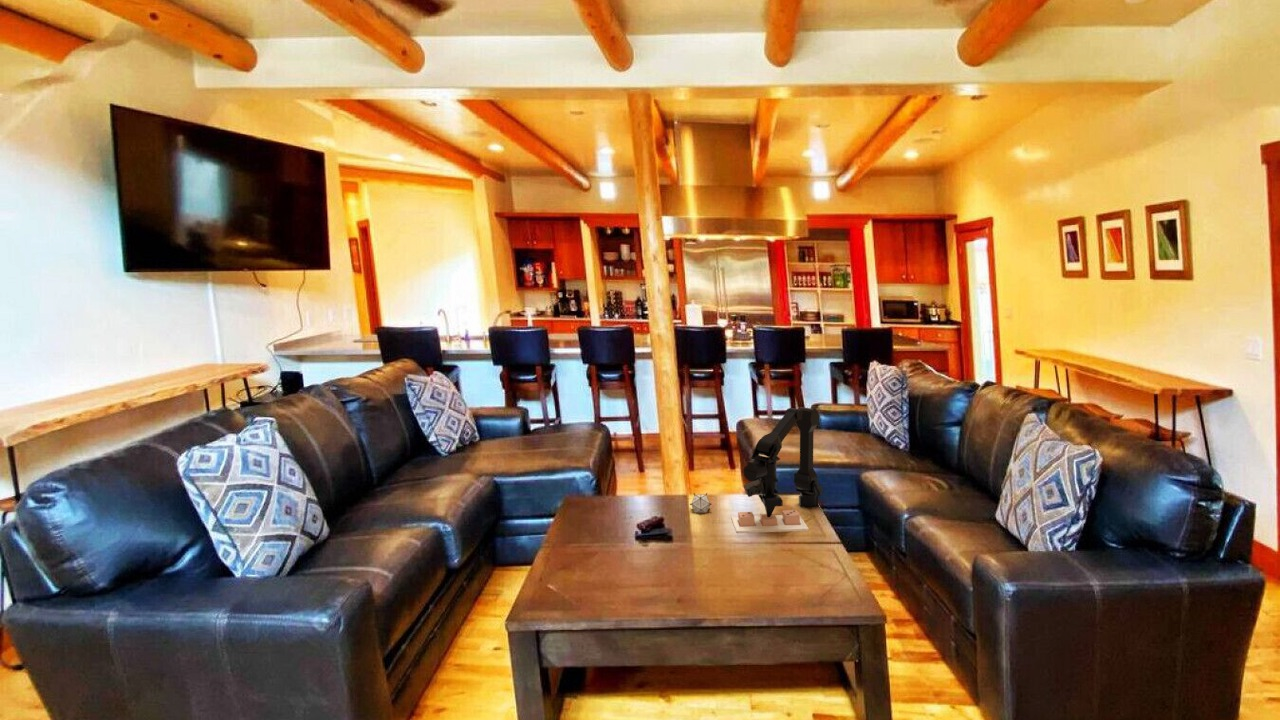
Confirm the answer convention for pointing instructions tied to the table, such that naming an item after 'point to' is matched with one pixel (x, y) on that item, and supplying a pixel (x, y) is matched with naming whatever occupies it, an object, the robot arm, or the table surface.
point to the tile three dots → (791, 517)
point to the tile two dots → (746, 519)
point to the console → (760, 528)
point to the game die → (700, 503)
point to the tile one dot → (768, 520)
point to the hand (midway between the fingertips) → (768, 516)
